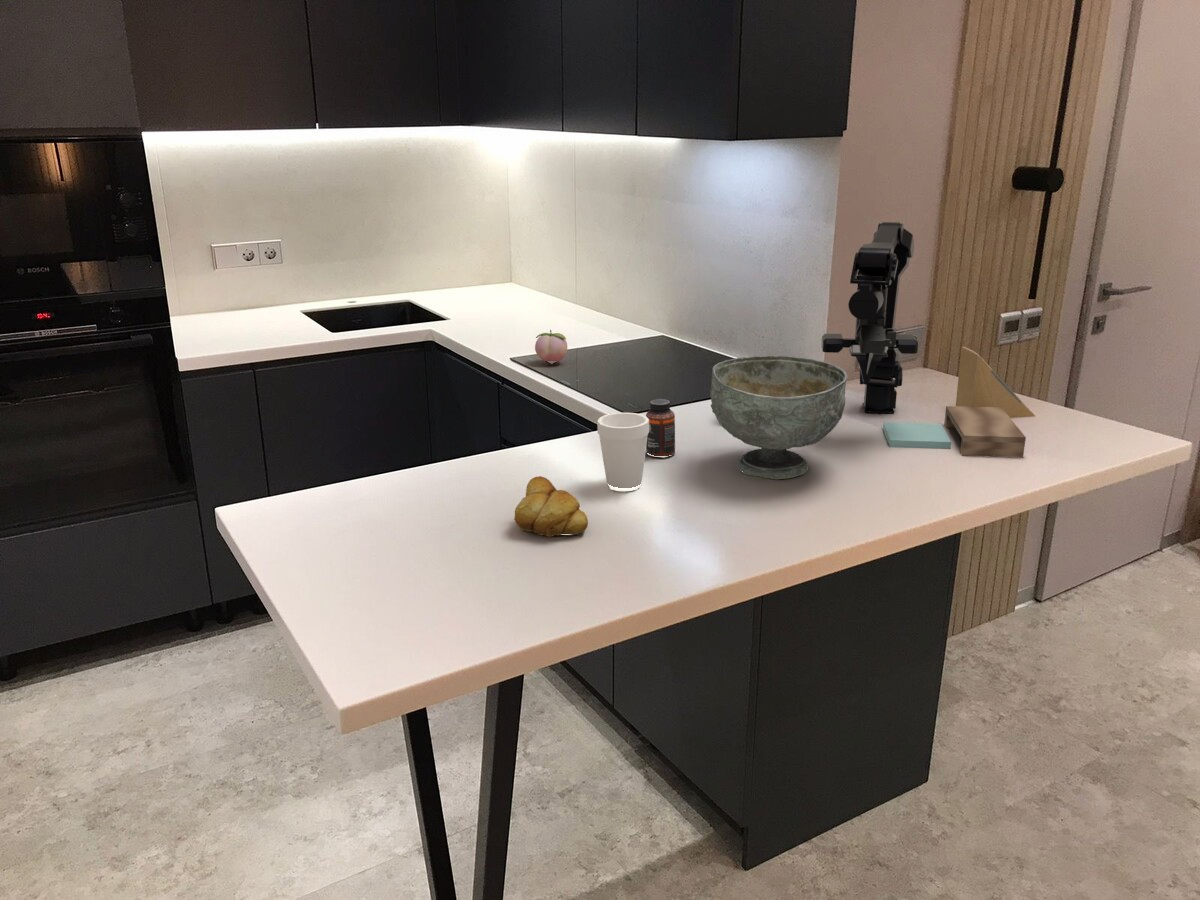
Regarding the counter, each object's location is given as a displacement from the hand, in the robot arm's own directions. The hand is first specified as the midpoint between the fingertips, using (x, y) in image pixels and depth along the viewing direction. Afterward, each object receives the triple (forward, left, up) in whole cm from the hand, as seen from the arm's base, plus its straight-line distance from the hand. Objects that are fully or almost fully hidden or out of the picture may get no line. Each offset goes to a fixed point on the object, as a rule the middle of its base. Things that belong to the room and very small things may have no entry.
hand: (865, 383), depth 195 cm
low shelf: (+24, 0, -12) cm, 27 cm away
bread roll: (-56, -54, -12) cm, 79 cm away
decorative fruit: (-80, +56, -12) cm, 98 cm away
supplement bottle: (-42, -15, -12) cm, 46 cm away
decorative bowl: (-19, -21, -12) cm, 30 cm away
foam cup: (-47, -33, -12) cm, 58 cm away
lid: (+11, 0, -12) cm, 16 cm away
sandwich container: (+31, +20, -12) cm, 39 cm away
